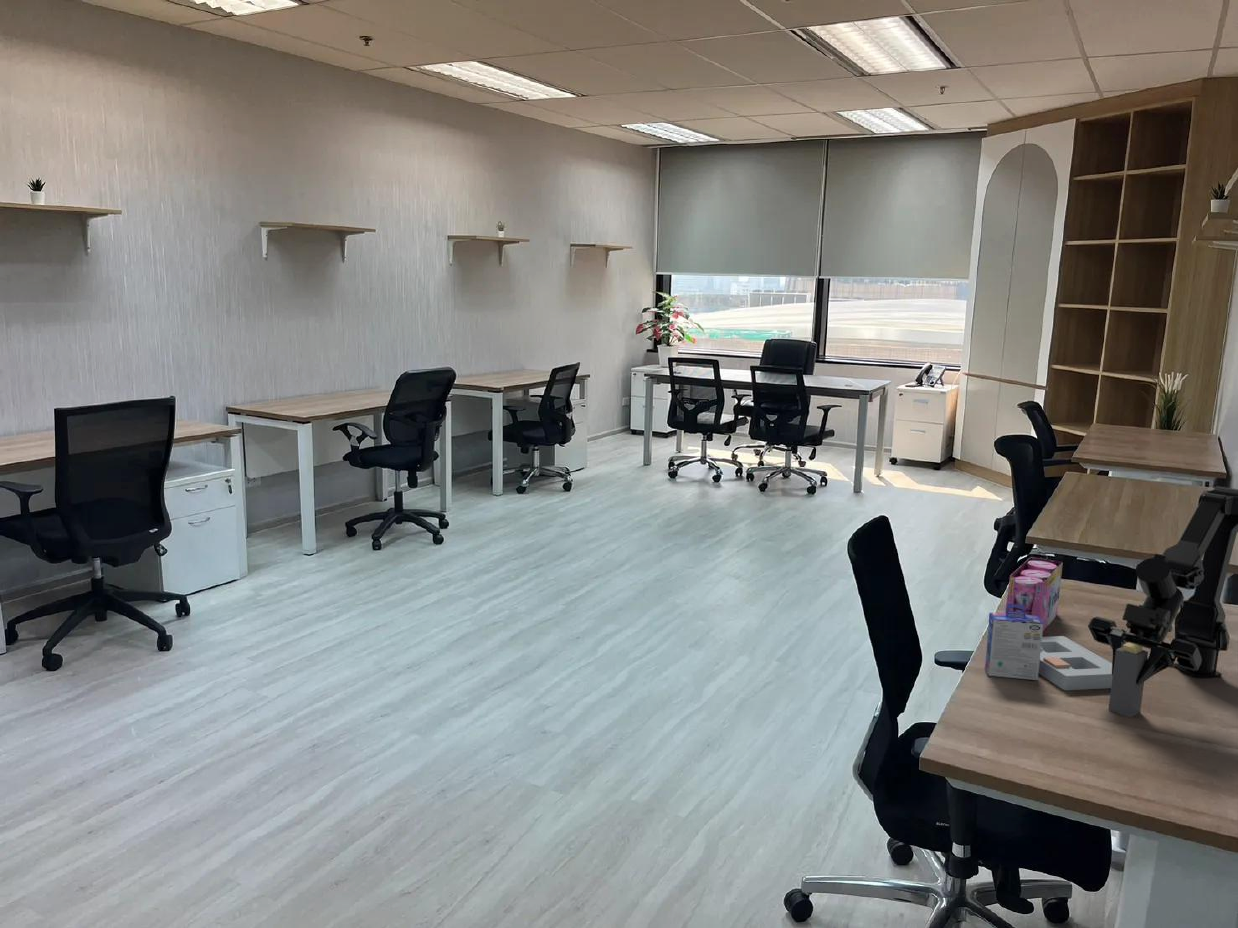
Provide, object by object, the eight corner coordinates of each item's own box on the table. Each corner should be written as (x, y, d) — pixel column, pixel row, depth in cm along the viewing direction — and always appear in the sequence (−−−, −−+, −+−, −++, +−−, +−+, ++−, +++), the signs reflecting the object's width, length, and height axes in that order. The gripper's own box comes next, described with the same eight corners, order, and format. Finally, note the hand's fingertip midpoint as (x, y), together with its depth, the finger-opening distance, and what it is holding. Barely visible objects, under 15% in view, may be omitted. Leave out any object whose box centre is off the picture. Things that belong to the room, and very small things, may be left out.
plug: (1118, 704, 177) (1126, 640, 175) (1140, 712, 174) (1148, 646, 172) (1108, 709, 175) (1116, 644, 173) (1130, 717, 172) (1139, 650, 169)
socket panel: (1061, 648, 206) (1063, 633, 205) (1127, 687, 186) (1129, 670, 185) (1004, 651, 204) (1005, 635, 203) (1064, 690, 183) (1066, 673, 183)
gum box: (1036, 641, 211) (1043, 583, 208) (1000, 633, 215) (1006, 577, 213) (1058, 614, 230) (1063, 561, 227) (1024, 607, 234) (1029, 555, 232)
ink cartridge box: (1032, 671, 193) (1040, 604, 190) (1039, 681, 187) (1047, 613, 185) (982, 666, 195) (989, 600, 192) (987, 676, 189) (994, 608, 187)
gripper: (1098, 576, 180) (1063, 641, 175) (1204, 601, 166) (1169, 673, 161) (1112, 607, 186) (1079, 671, 181) (1215, 635, 172) (1182, 705, 167)
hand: (1125, 679), depth 172 cm, fingers closed on plug, 4 cm apart
